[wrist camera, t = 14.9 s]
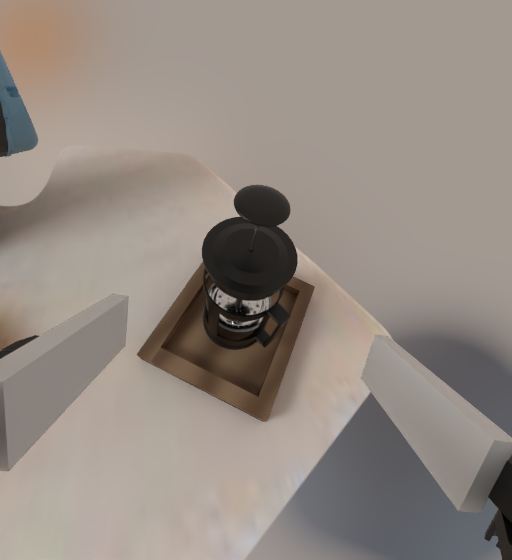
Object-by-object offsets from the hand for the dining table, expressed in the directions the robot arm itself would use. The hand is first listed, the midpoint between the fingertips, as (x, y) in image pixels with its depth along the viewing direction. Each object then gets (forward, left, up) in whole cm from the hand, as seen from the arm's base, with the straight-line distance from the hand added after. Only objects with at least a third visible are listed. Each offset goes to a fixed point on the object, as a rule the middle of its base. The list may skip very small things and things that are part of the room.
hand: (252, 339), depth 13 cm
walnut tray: (-3, +9, -23) cm, 25 cm away
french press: (-3, +9, -23) cm, 25 cm away
